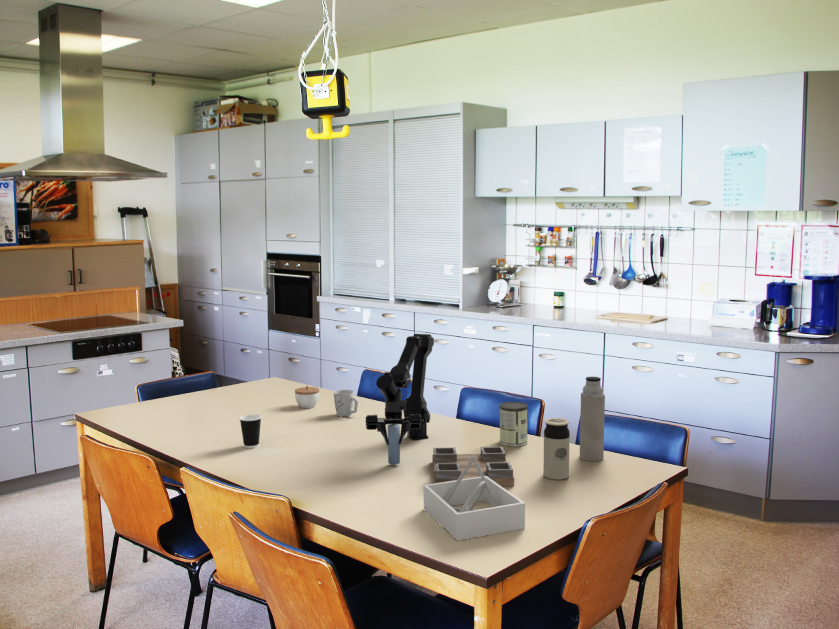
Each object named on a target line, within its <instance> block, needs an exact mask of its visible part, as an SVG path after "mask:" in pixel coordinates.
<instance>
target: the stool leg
mask: <svg viewBox="0 0 839 629" xmlns="http://www.w3.org/2000/svg"><path fill="white" fill-rule="evenodd" d="M400 426H401V425H400V424H392V425H387V438H388V445H387V463H388V464H389V465H398V464H399V465H400V463H401V445H400V433H401V427H400Z"/></svg>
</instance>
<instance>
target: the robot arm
mask: <svg viewBox="0 0 839 629" xmlns="http://www.w3.org/2000/svg"><path fill="white" fill-rule="evenodd" d="M434 344H435V338H434V337H433V336H432V334H429V333H414V334H413V335H410V336H407V337H406V340H405V345H404V346H403V347H404V348H403V350H402V352H401V355H400V357H399V359H398V361H397V364H395V365H394V366H393V367H392V368H391V369H390V371H389V372H387V371H385V372H384V374H382V375H380V376H379V377H378V378H377V379H376V382H375V383H376V387H377V388H378V390H379V391H380V393H381V395H383V397H384V398H385V400H384V401H385V402H384V404H385V405H384V417H378V414H367V415H366V416H365V429H366V430H367V431H368V430H369V431H373V430H374V431H375V430H376V431H377V432H378V433H379V432H380V434H381V436H382V437H383V439H384V443H385V445H386V446H388V430H387V426H388V425H392V424H396V425H400V426H401V427H400V446H401V445H402V444H403V441H404V438H405V436H407V437H408V438H410V439H411V440H413V441H414V440H415V441H416V440H424V439H429V436H428V435H427V432H428V431H427V430H428V428H427V427H428V426H427V425H428V424H429V423H431V422H430V420H431V413H430V411H429V409H428V408H427V406H428V405H427V401H426V398H425V397H424V392H425V381H426V370H427V361H428V360H427V359H428V357H429V356H430V355H431V354H432V351H433V348H434ZM412 366H413V368H412ZM411 368H412V378H411V374H410V371H411ZM410 383H411V388H410V394H409V396H408V397H407V398H405V399H403V394H402V392H403V391H402V390H401V389H407V388H408V387H409V386H410ZM427 423H428V424H427Z"/></svg>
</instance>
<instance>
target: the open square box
mask: <svg viewBox="0 0 839 629" xmlns="http://www.w3.org/2000/svg"><path fill="white" fill-rule="evenodd" d="M484 477H485V479H486V481H487V483H488V485H489V487H490V489H491V491H492V494H493V496H494V498H495V500H496V502H497V504H498V506H497V507H495V506H494V504H493V502H492V500H491V497H490V495H489V493H488V491H487V489H486V488H485V489H484V491H483V492H482V494H481V495H480V497H479V499H478V500H477V502H483V501H485V502H486V503H488V504H489V505H490V506H492V507H487V508H481V509H480V508H479V509H478V510H473V511H467V512H461V513H459V512H458V511H457V510H454V509H453V508H452V507H451V506H457V505H464V503H465V502H466V500H467V499H468V497H469V496H470V494H471V493H472V492H473V490H474V489H475V488H476V487H477V486H478V485H479V483H481V482H482V479H481V477H475V478H468V479H462V480H461V481H460V483H459V484H458V486H457V488H456V489H455V491H454V492H453V494H452V495H451V497H450V498H449V500H448V502H447V503H446V502H445V501H444V500H445V498H446V497H447V495H448V494H449V492H450V490H451V489H452V487H453V486H454V484H455V483H456V481H457V480H455V481H448V482H441V483H435V482H434V483H429V484H423V510H424V509H425V510H426V511H427V512H428V513H429V514H430V515H431V516H432V517H431V516H430V515H429V516H430V517H431V518H433V520H434V521H436V522H437V521H438V522H439V523H440V524H441V525H442V526H443V527H444V528H445V529H446V530H447V531H448V532H449V533H450V534H451V535H452V536H453V537H454V538H455V539H456V540H460V539H466V540H468V539H467V538H471V539H474V538H473V537H477V538H481V536H482V537H486V535H488V536H492V535H498V533H499V534H503V533H509V532H514V531H520V530H525V528H526V503H525V502H524V501H523V500H521V499H520V498H518V497H517V496H516V495H514V494H513V493H512V492H510V491H508V490H507V489H506V488H504V486H500V485H499V484H497V483H496V482H494V481H493V480H491V479H490V478H489V477H487V476H484ZM479 490H480V489H479ZM479 490H478V491H479ZM478 491H477V493H478ZM477 493H476V494H475V495H474V497H473V498H472V500H471V501H470V502H469V504H471V502H472V501H473V499H474V498H475V496H476V495H477ZM425 510H424V511H425ZM426 511H425V512H426ZM427 512H426V513H427ZM428 513H427V514H428ZM438 522H437V523H438ZM439 523H438V524H439ZM440 524H439V525H440ZM441 525H440V526H441ZM442 526H441V527H442ZM443 527H442V528H443ZM444 528H443V529H444ZM445 529H444V530H445ZM446 530H445V531H446ZM447 531H446V532H447ZM448 532H447V533H448ZM449 533H448V534H449ZM450 534H449V535H450ZM451 535H450V536H451ZM452 536H451V537H452ZM453 537H452V538H453ZM454 538H453V539H454ZM455 539H454V540H455ZM456 540H455V541H456ZM460 541H461V540H460Z"/></svg>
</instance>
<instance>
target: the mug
mask: <svg viewBox="0 0 839 629" xmlns="http://www.w3.org/2000/svg"><path fill="white" fill-rule="evenodd" d="M333 398H334V399H333V400H334V408H335V412H336V416H337V417H339V416H348V417H351V416H352V414H356V413H357V412H358V407H359V400H358V398H357V397H355V392H354V391H353V390H351V389H338V390H334V392H333ZM353 408H354V409H353ZM350 415H351V416H350Z"/></svg>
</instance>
